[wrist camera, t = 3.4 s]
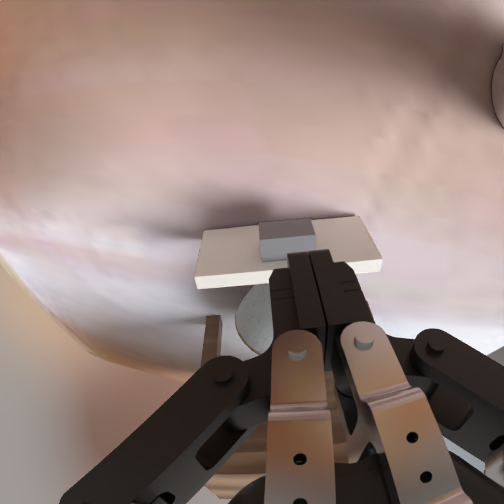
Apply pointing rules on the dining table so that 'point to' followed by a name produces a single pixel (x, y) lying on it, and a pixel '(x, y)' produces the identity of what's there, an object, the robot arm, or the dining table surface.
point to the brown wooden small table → (260, 431)
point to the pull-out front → (280, 249)
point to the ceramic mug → (255, 319)
